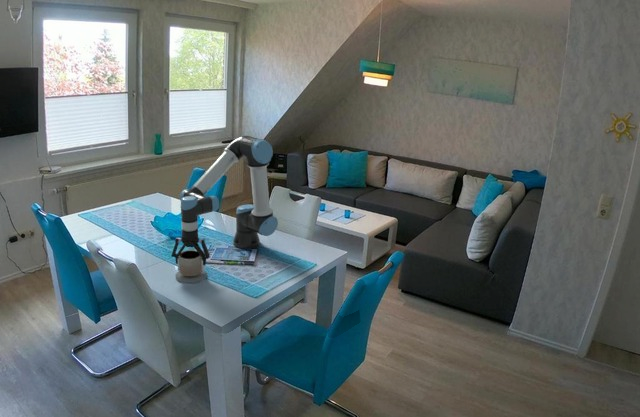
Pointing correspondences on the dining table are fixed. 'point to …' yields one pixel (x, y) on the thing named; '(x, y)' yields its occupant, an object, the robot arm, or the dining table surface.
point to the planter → (190, 263)
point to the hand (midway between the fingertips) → (191, 270)
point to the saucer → (190, 278)
